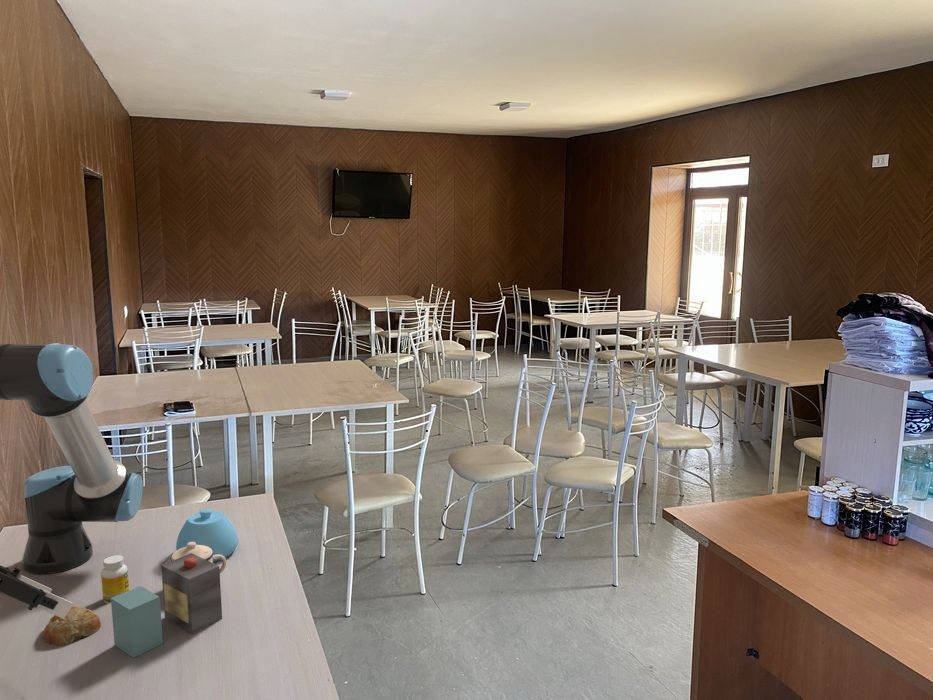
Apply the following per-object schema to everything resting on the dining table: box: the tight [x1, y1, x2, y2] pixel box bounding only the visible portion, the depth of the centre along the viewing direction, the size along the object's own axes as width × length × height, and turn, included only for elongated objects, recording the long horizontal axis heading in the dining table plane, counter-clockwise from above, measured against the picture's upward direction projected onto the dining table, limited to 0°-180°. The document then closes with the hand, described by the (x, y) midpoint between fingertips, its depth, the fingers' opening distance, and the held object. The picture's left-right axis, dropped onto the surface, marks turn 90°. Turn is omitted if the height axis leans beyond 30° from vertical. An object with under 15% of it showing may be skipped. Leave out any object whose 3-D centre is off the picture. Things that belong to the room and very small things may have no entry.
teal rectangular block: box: [110, 585, 164, 659], centre depth 138 cm, size 7×6×10 cm
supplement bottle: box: [100, 554, 130, 605], centre depth 158 cm, size 5×5×10 cm
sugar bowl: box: [175, 508, 239, 563], centre depth 180 cm, size 15×15×12 cm
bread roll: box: [42, 605, 102, 646], centre depth 143 cm, size 10×10×8 cm
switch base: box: [160, 553, 223, 634], centre depth 141 cm, size 12×22×14 cm, turn 144°
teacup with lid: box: [170, 542, 227, 575], centre depth 162 cm, size 12×9×12 cm
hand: (56, 603), depth 125 cm, fingers open, 8 cm apart
